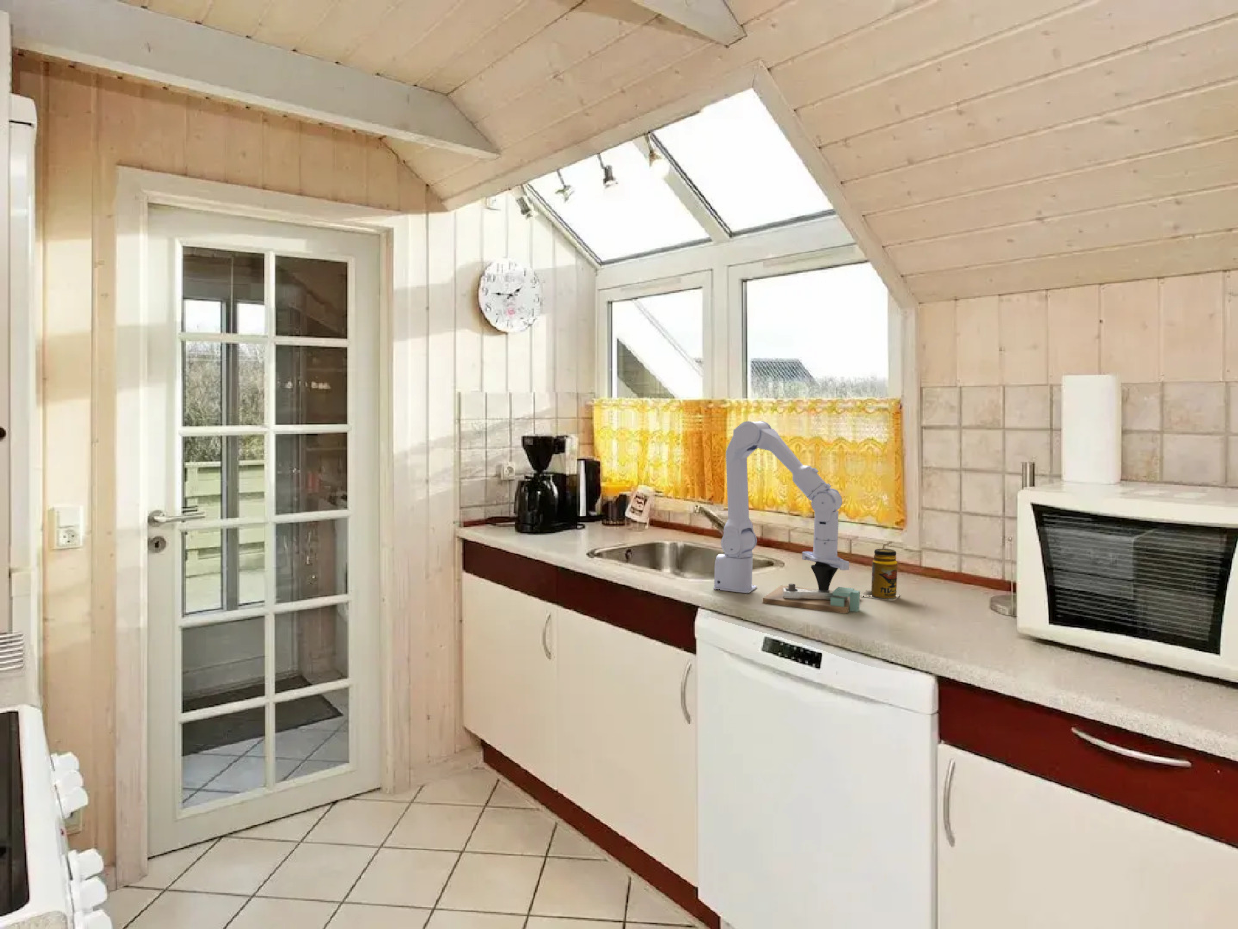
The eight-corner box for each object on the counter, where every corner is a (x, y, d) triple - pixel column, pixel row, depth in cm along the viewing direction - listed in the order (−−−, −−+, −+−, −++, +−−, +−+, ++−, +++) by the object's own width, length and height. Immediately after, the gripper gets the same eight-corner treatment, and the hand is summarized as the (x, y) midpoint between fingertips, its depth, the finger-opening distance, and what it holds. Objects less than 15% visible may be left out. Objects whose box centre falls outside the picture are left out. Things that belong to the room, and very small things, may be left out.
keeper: (830, 610, 184) (830, 591, 184) (835, 604, 189) (836, 586, 189) (856, 613, 181) (856, 594, 181) (860, 608, 187) (861, 589, 186)
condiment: (894, 601, 194) (896, 553, 193) (859, 597, 198) (861, 550, 197) (900, 595, 200) (901, 549, 199) (866, 591, 204) (867, 546, 203)
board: (762, 602, 190) (763, 584, 190) (780, 589, 205) (781, 572, 204) (846, 613, 181) (847, 594, 181) (859, 599, 196) (860, 581, 195)
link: (783, 598, 190) (783, 591, 189) (782, 594, 193) (782, 587, 193) (847, 600, 187) (847, 594, 187) (845, 597, 191) (845, 590, 191)
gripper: (793, 535, 196) (791, 588, 197) (833, 544, 183) (831, 602, 184) (815, 533, 199) (813, 586, 200) (856, 542, 186) (854, 599, 187)
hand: (823, 593), depth 192 cm, fingers closed, pressing on link
